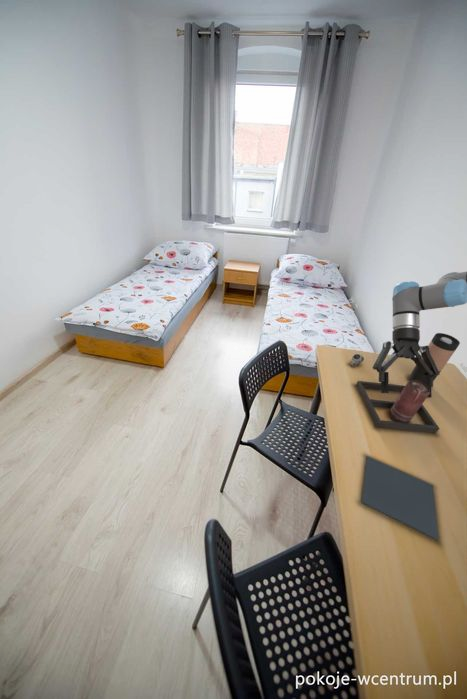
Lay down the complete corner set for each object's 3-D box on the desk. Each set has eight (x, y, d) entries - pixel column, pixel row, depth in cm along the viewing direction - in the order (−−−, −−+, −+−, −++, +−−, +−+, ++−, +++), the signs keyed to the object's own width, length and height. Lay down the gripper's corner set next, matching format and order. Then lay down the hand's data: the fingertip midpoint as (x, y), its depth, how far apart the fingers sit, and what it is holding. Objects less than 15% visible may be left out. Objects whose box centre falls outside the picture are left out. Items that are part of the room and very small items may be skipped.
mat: (431, 486, 71) (432, 485, 70) (437, 540, 60) (438, 539, 60) (366, 457, 76) (367, 456, 75) (361, 502, 65) (362, 501, 65)
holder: (406, 391, 100) (409, 386, 99) (435, 433, 85) (439, 428, 84) (355, 385, 100) (357, 380, 98) (375, 427, 84) (378, 422, 83)
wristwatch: (346, 363, 110) (351, 353, 107) (357, 360, 113) (362, 350, 110) (353, 369, 108) (358, 359, 105) (364, 365, 111) (369, 355, 108)
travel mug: (412, 373, 110) (439, 330, 98) (432, 384, 105) (463, 340, 94) (404, 380, 106) (431, 336, 94) (425, 392, 101) (456, 347, 90)
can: (389, 422, 87) (410, 390, 79) (387, 408, 92) (406, 376, 84) (410, 428, 86) (433, 396, 78) (406, 414, 91) (428, 382, 83)
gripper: (434, 336, 94) (435, 399, 90) (362, 328, 93) (360, 391, 90) (452, 331, 87) (454, 399, 83) (374, 322, 86) (373, 390, 82)
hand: (405, 395), depth 86 cm, fingers open, 13 cm apart
